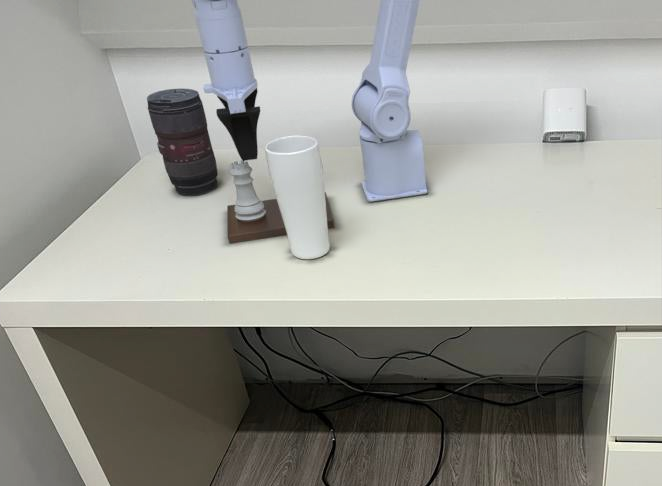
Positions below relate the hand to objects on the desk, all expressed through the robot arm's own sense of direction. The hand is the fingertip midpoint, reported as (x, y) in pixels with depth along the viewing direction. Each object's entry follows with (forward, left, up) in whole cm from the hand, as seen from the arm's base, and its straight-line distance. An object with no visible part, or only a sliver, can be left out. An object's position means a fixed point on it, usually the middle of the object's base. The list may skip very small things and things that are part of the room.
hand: (248, 149), depth 106 cm
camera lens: (+10, -16, -11) cm, 21 cm away
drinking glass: (-6, +14, -11) cm, 18 cm away
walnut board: (-2, +2, -10) cm, 11 cm away
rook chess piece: (+2, +2, -9) cm, 10 cm away
